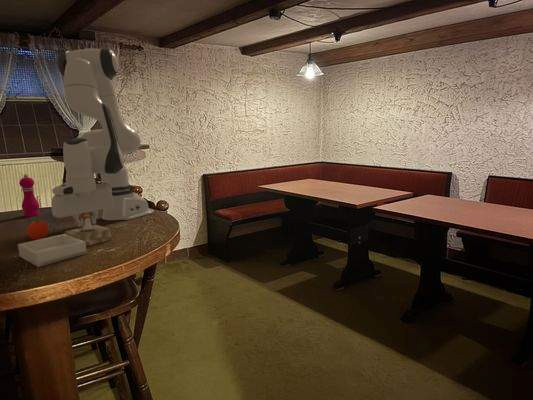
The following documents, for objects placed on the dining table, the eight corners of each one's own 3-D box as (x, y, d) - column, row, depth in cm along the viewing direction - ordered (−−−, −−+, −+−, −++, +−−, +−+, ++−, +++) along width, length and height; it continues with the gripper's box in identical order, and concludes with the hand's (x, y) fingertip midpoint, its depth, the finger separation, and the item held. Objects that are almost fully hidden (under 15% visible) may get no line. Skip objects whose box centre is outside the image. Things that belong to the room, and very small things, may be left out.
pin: (91, 238, 136) (87, 211, 134) (95, 240, 134) (91, 212, 132) (82, 240, 134) (79, 213, 132) (86, 242, 132) (83, 214, 130)
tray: (65, 245, 130) (64, 233, 129) (86, 253, 120) (85, 241, 119) (19, 256, 120) (17, 244, 119) (38, 266, 110) (36, 253, 109)
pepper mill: (43, 214, 183) (37, 173, 179) (28, 217, 177) (21, 175, 173) (35, 213, 187) (29, 173, 183) (20, 216, 181) (13, 174, 177)
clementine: (21, 242, 136) (17, 223, 135) (35, 236, 143) (32, 218, 142) (41, 242, 135) (38, 223, 134) (54, 236, 142) (51, 218, 140)
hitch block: (96, 235, 142) (95, 224, 141) (111, 239, 135) (110, 228, 134) (66, 242, 134) (64, 231, 133) (79, 247, 126) (78, 236, 126)
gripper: (106, 181, 140) (110, 217, 143) (46, 189, 125) (52, 230, 128) (115, 182, 136) (119, 220, 139) (54, 191, 121) (60, 233, 124)
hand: (87, 225), depth 133 cm, fingers closed on pin, 3 cm apart
